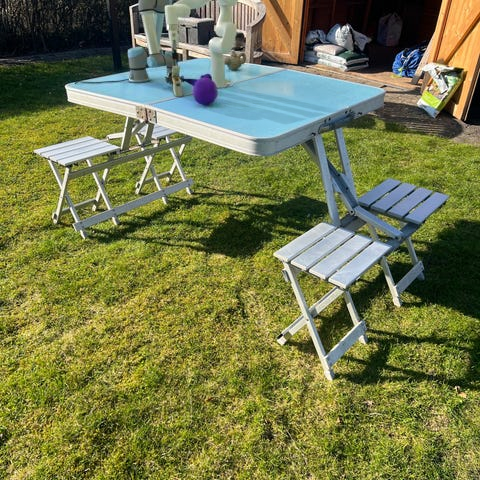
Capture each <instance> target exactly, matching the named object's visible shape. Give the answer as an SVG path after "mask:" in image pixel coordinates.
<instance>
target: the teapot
mask: <svg viewBox="0 0 480 480" xmlns="http://www.w3.org/2000/svg"><path fill="white" fill-rule="evenodd" d="M241 58H242V59H241ZM224 61H225V66H227V69H228V70H230V71H238V70H239V69H240V68H241V67H242V65H244V64H245V63H246V61H247V56H246V53H245V52H243V51H242V52H239V54H237V53H236V52H235V50H231V54H230V56H226V57H224Z"/></svg>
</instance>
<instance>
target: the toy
mask: <svg viewBox="0 0 480 480" xmlns="http://www.w3.org/2000/svg"><path fill="white" fill-rule="evenodd" d="M182 80H183V81H184V83H187V84H189V85H191V86H192V87H193V89H192V95H193V98H194V100H195V101H196V103H198V104H199V105H202V106H209V105H212V104H213V103H214V102H215V101H216V99H217V98H218V94H219V90H218V88H217V86H216V84H215V82H214V81H212V76H211V73H205V74H202V75H200V77H199V78H198V79H197V78H184V79H182Z"/></svg>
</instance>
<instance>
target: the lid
mask: <svg viewBox="0 0 480 480" xmlns="http://www.w3.org/2000/svg"><path fill="white" fill-rule="evenodd" d="M173 61H174V66H173V69H172V77H179V76H180V72H181V65H179V64H178V59H176V65H177V66H175V59H174V60H173Z"/></svg>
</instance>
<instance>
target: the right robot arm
mask: <svg viewBox="0 0 480 480" xmlns="http://www.w3.org/2000/svg"><path fill="white" fill-rule="evenodd" d="M212 1H213V0H177V1H176V2H174V3H172V5H166V6H165V14H164V18H165V27H166V31H168V39H169V46H170V47H171V51H172V59H173V60H174V59H177V60H178V59H179V56H178V49H177V48H180V44H179V33H178V31H179V27H180V26H179V18H181V19H185V18H188V17H189V16H190V15H191V13H192V12H191V10H195V9H199V8H202V7H204V6H206V5H208V4H209V3H210V2H212ZM216 2H217V4H218V7H219V16H218V19H217V22H216V26H215V29H214V30H215V34H216V36H217V37H212V38H211V39H210V40H209V42H208V52H209V57H210V75H211V76H212V81H214V82H215V84H216V86H217V89H223V88H227V87H228V83H231V82H232V80H231V79H226V67H225V66H226V65H225V61H224V58H225V56H224V55H228V54H229V53H230V52H232V49H233V46H234V42H235V40H236V37H237V31H238V30H237V25H236V24H235V23H234V22H232V20H233V9H232V7H233V6H236V5H237V4H238V2H239V0H216Z"/></svg>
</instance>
